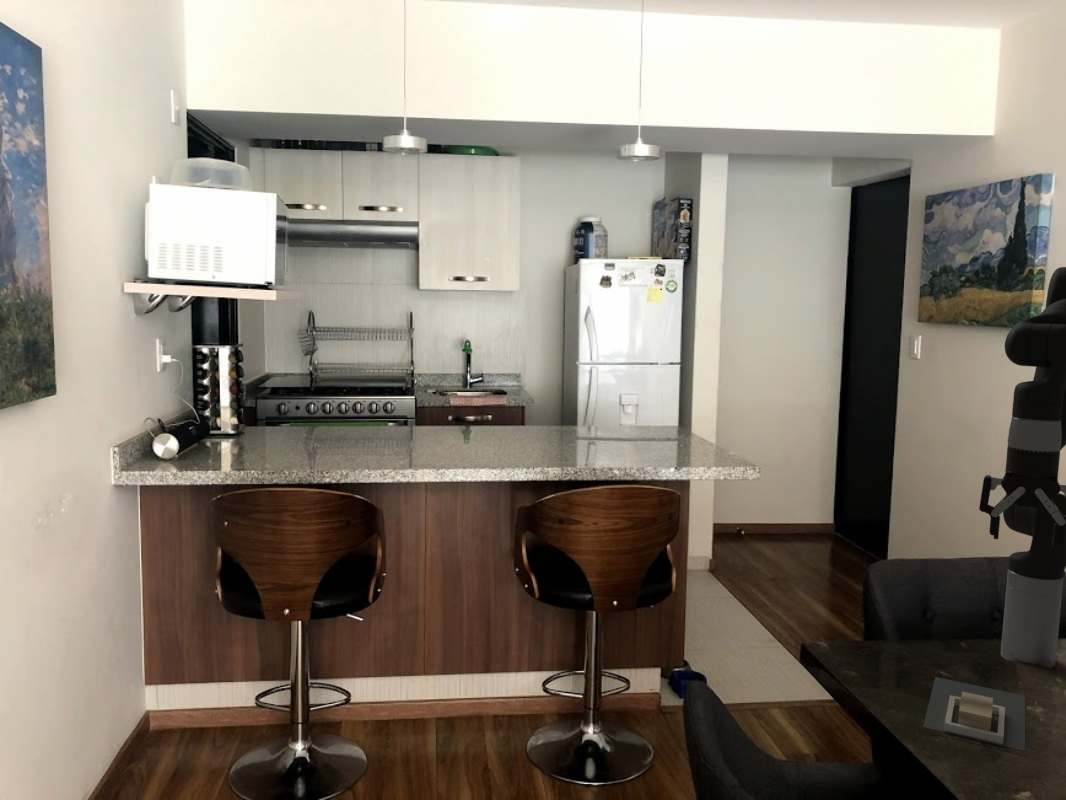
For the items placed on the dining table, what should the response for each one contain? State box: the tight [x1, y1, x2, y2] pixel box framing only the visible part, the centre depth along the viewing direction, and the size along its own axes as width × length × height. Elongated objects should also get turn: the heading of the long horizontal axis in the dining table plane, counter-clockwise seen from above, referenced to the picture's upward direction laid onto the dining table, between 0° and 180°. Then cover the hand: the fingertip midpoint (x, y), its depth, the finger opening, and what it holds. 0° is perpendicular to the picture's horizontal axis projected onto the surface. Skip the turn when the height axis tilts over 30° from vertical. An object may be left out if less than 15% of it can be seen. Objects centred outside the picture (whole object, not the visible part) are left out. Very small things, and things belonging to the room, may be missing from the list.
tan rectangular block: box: [958, 692, 993, 731], centre depth 138 cm, size 8×4×3 cm, turn 151°
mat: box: [922, 676, 1026, 757], centre depth 142 cm, size 22×14×1 cm, turn 151°
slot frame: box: [944, 695, 1005, 744], centre depth 138 cm, size 12×8×1 cm
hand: (1025, 542), depth 144 cm, fingers open, 8 cm apart
